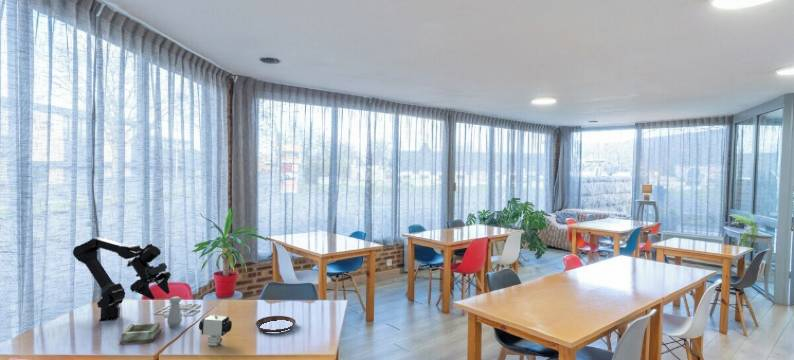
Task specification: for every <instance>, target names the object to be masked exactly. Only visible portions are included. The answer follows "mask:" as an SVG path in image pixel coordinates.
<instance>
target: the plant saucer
mask: <svg viewBox="0 0 794 360" xmlns="http://www.w3.org/2000/svg"><path fill="white" fill-rule="evenodd" d="M277 320H286V321H290V322H292V323H293V324H294V325H292V326H290V327H288V328H284V329H276V330H270V329H263V328H260V326H261V325H262V324H264V323H267V322H270V321H277ZM296 323H297V322H296V319H294V318H293V317H291V316H287V315H286V316H285V315H271V316H265V317H262V318H259V319H258V320H257V321H256V322H255V325H256V328H257V329H258V331H260V332H261V331H263V332H281V331H285V330H288V329H290V330H291V329H292V328H294V326H295V325H296ZM263 332H262V333H263Z"/></svg>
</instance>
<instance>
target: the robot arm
mask: <svg viewBox="0 0 794 360" xmlns="http://www.w3.org/2000/svg"><path fill="white" fill-rule="evenodd" d="M100 249H103V250H106V251H110V252H113V253H116V254H117V255H118V257H120V258H122V259H125V260H128V261H127V264H126V267H127V268H129V267H132V268H133V270H134V271H135V272H136V274H135V277H136V278H138V277H139V279H136V280H135V281H134V282H133V283H132V284H131V285H130V286H129V287H130V288H129V289H130V291H131V293H136V294H140V295H142V296H144V297H146V298H148V299H150V300H154V299H155V296H154V294H153V292H152V290H151V289H150V284H152V283H156V286H157V287H158V288H160V289H161V290H162V291H163V292H164V293H165V294H167V295H168V294H170V292H171V291H170V288H169V283H168V282H169V279H170V278H171V277H172V274H171V273H170V272H169V271H166V270H167V269H168V266H167V264H166V263H165V262H162V263H159V264H158V265H157V266H154V265H150V263H152V262H153V261H154V260H155V259H157V258H158V257H159V256H160V255H161V253H162V251H161V249H160V248H159V247H157V246H155V245H153V243H147V244H146V245H145V247H144V248H143V247H141V246H140V245H139V244H131V243H130V244H129V243H121V242H118V241H116V240H115V241H114V240H111V239H108V238H105V237H102V236H98V237H94V238H91V239H89V240H88V241H86V242H84V243H82V244H80V245H76V246H75V247H74V248H73V250H72V254H73V256H74V257H75V259H76V260H77V261H78V262H80V263H82V264H84V265H85V266H86V267H87V269H88V271H89V272H90V274H91V275H92V276H93V278H94V280H95V281H96V283H97V284H98V286H99V288H100V289H101V291H100V296H101V299H99V300H98V302H96V303H97V304H96V306H97V308H100V318H99V319H98V321H99V322H103V321H104V322H105V321H116V320H117V319H118V318H119V317H120V316H121V315H120V314H121V307H120V305H121V304H122V303H123V301H124V299H125V297H126V296H125V295H126V292H125V290H126V289H125V288H124V287H123V285H122V284H121V283H120V282H119V283H115V282H113V280H112V278H110V276H109V274H108V273H107V271H106V270H105V268H104V267H103V265H102V263H101V262H100V260H99V259H98V250H100ZM129 259H130V260H129Z"/></svg>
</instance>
